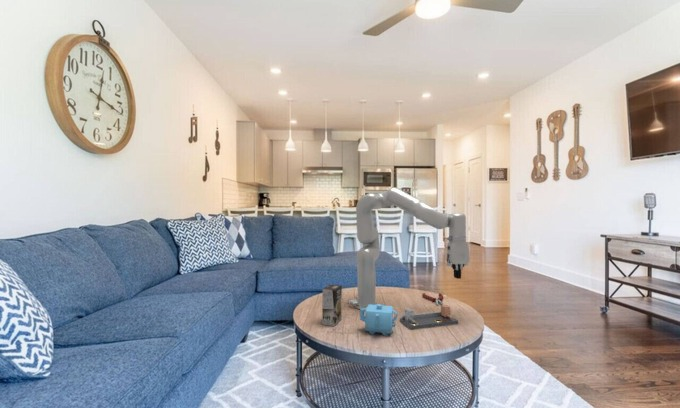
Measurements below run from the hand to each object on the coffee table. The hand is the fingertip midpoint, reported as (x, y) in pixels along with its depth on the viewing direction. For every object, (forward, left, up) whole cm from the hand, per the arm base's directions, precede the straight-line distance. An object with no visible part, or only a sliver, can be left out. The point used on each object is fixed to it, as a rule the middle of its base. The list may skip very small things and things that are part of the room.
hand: (457, 277), depth 148 cm
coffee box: (-59, +12, -19) cm, 63 cm away
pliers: (+4, +27, -20) cm, 34 cm away
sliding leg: (-7, -2, -17) cm, 19 cm away
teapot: (-43, -4, -19) cm, 47 cm away
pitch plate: (-17, -1, -19) cm, 25 cm away
